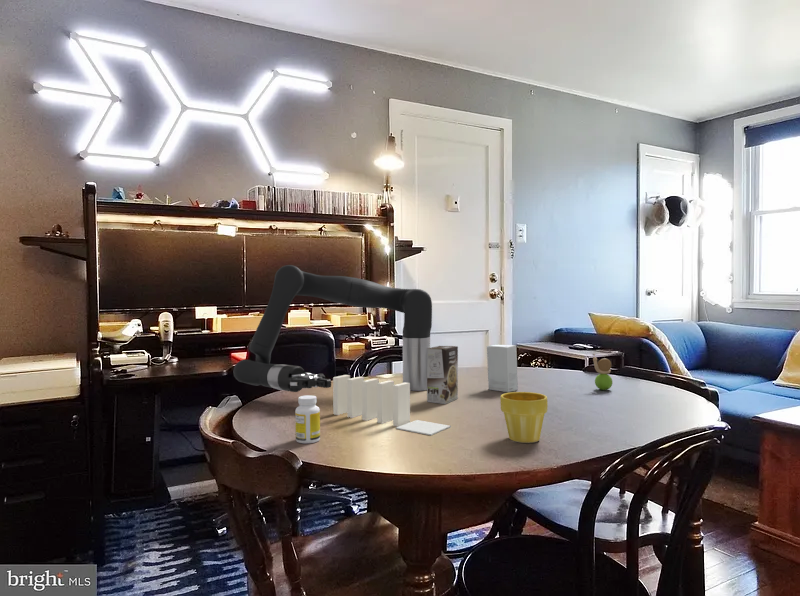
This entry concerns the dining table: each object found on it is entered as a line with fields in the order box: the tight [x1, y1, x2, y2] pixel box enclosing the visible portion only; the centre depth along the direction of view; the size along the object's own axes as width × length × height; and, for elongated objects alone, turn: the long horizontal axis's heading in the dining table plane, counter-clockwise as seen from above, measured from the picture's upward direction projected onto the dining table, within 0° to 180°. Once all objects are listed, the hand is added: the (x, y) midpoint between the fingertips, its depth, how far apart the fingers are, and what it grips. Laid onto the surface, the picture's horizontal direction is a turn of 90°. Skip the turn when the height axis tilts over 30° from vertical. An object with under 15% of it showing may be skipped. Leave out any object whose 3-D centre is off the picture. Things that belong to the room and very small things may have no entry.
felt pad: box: [395, 419, 452, 436], centre depth 131 cm, size 10×9×1 cm
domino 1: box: [332, 374, 351, 416], centre depth 146 cm, size 2×5×10 cm, turn 144°
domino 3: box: [361, 378, 380, 422], centre depth 140 cm, size 2×5×10 cm, turn 144°
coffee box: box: [426, 345, 459, 405], centre depth 162 cm, size 9×6×16 cm
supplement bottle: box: [294, 395, 321, 444], centre depth 121 cm, size 5×5×10 cm
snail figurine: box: [592, 353, 613, 391], centre depth 177 cm, size 5×6×12 cm
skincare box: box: [486, 344, 519, 393], centre depth 177 cm, size 8×6×15 cm
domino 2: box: [346, 376, 365, 419], centre depth 143 cm, size 2×5×10 cm, turn 144°
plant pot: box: [499, 391, 549, 444], centre depth 121 cm, size 10×10×10 cm
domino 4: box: [376, 379, 395, 425], centre depth 138 cm, size 2×5×10 cm, turn 144°
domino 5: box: [392, 382, 411, 427], centre depth 135 cm, size 2×5×10 cm, turn 144°
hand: (329, 383), depth 149 cm, fingers closed
